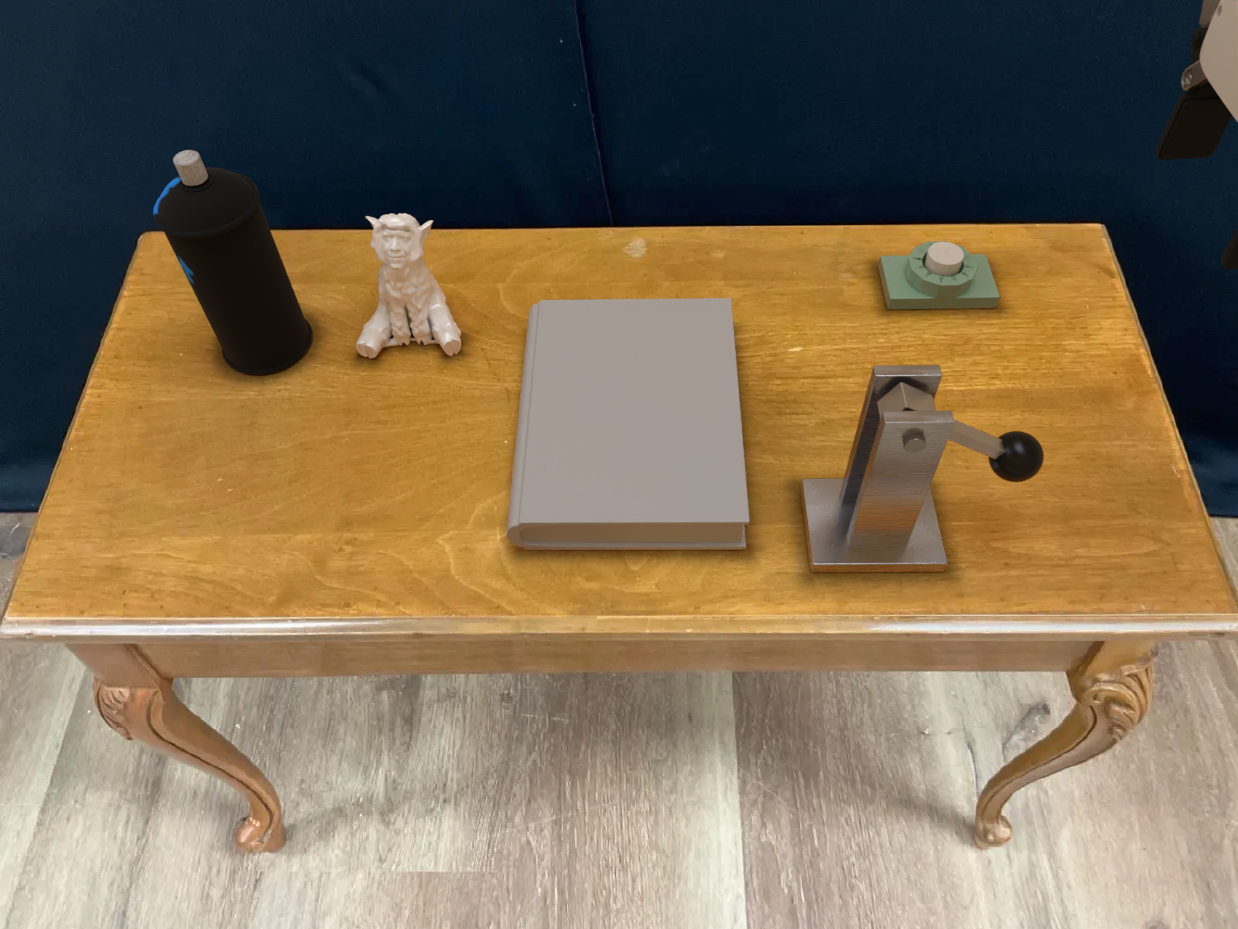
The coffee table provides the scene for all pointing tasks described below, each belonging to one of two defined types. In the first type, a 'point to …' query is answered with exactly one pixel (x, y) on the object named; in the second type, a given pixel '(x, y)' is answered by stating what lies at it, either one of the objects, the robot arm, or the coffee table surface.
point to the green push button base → (936, 282)
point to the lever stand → (883, 487)
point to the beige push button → (944, 259)
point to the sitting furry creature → (406, 291)
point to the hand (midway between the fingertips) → (1214, 207)
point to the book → (629, 428)
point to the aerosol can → (233, 266)
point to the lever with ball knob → (976, 437)
